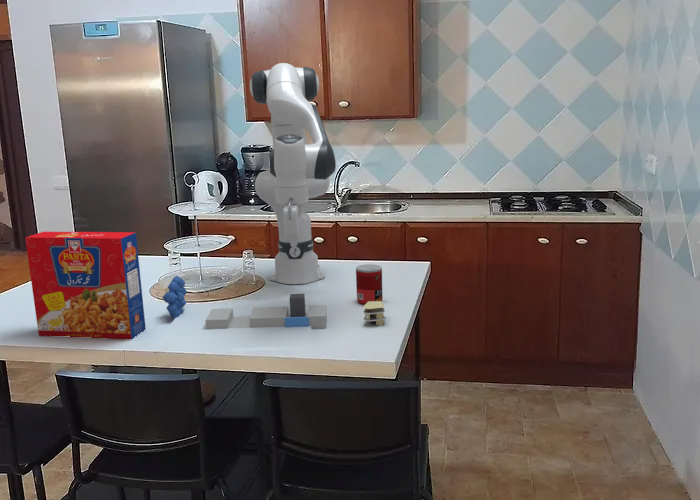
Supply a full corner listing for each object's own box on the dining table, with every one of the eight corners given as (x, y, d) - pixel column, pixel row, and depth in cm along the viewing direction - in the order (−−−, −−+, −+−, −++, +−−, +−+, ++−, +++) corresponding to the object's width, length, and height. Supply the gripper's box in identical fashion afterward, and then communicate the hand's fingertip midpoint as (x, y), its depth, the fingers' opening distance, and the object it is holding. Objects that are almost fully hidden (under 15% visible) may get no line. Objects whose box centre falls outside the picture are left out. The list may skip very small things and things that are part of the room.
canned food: (380, 305, 209) (379, 270, 207) (354, 305, 211) (353, 270, 208) (384, 298, 216) (383, 264, 214) (359, 297, 218) (358, 263, 215)
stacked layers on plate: (358, 318, 199) (357, 300, 198) (389, 317, 199) (389, 299, 198) (358, 330, 190) (357, 311, 188) (391, 329, 189) (390, 310, 188)
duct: (209, 320, 200) (208, 309, 200) (326, 316, 201) (326, 305, 200) (202, 333, 190) (201, 321, 189) (326, 329, 190) (325, 316, 189)
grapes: (171, 310, 211) (167, 272, 209) (192, 310, 211) (189, 272, 208) (156, 322, 200) (152, 282, 197) (179, 322, 199) (175, 282, 197)
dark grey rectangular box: (291, 317, 198) (290, 294, 196) (305, 317, 198) (304, 293, 196) (290, 322, 194) (289, 298, 192) (305, 321, 194) (303, 297, 192)
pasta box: (38, 336, 192) (25, 237, 186) (56, 326, 200) (43, 231, 194) (131, 339, 187) (120, 238, 181) (145, 329, 194) (135, 232, 188)
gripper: (301, 202, 177) (303, 254, 181) (305, 189, 197) (307, 237, 201) (276, 202, 177) (279, 255, 181) (283, 190, 197) (285, 237, 201)
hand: (294, 245), depth 191 cm, fingers closed
